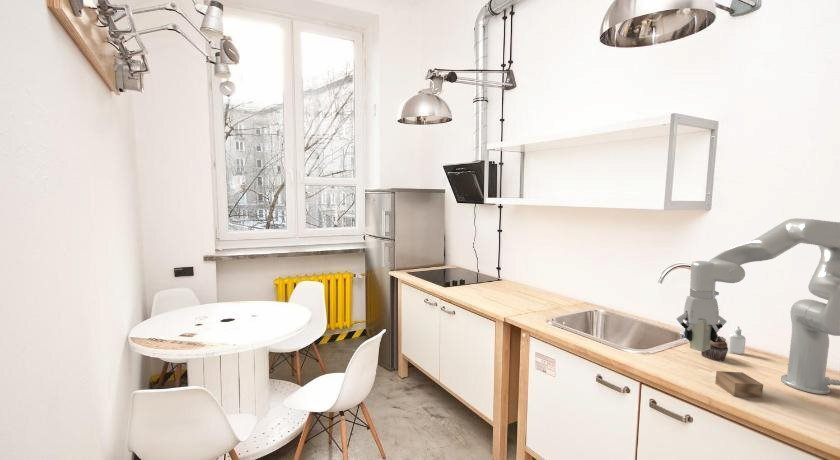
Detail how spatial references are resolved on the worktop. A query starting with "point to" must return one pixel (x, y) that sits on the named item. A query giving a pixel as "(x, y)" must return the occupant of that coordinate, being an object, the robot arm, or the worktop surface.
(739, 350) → the eye dropper bottle
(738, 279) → the robot arm
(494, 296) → the worktop surface
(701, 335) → the skincare box
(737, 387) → the block
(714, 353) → the cupcake
